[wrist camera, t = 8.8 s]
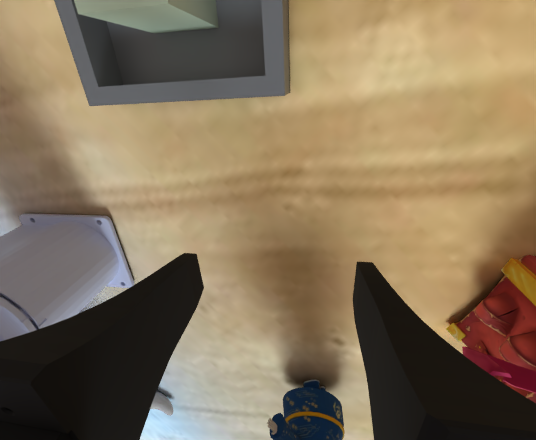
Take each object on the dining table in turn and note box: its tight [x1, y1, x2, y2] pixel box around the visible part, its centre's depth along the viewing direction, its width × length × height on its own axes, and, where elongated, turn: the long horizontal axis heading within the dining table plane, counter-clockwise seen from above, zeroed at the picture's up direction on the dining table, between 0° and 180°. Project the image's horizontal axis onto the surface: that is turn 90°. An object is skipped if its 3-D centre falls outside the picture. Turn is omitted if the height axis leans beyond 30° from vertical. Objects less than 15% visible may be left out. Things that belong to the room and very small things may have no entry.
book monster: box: [446, 255, 536, 403], centre depth 17 cm, size 11×9×12 cm
